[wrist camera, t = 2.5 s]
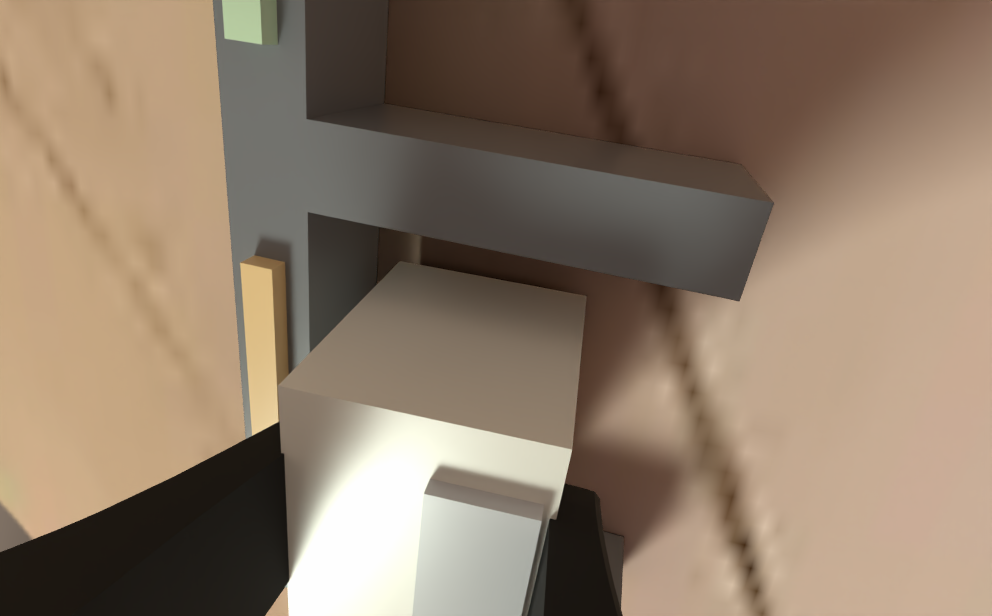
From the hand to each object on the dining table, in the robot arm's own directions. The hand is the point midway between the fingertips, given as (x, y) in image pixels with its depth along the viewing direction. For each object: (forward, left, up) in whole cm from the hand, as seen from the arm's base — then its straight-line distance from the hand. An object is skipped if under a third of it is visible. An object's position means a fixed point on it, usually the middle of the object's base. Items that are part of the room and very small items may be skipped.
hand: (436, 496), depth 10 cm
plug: (0, 0, -4) cm, 4 cm away
